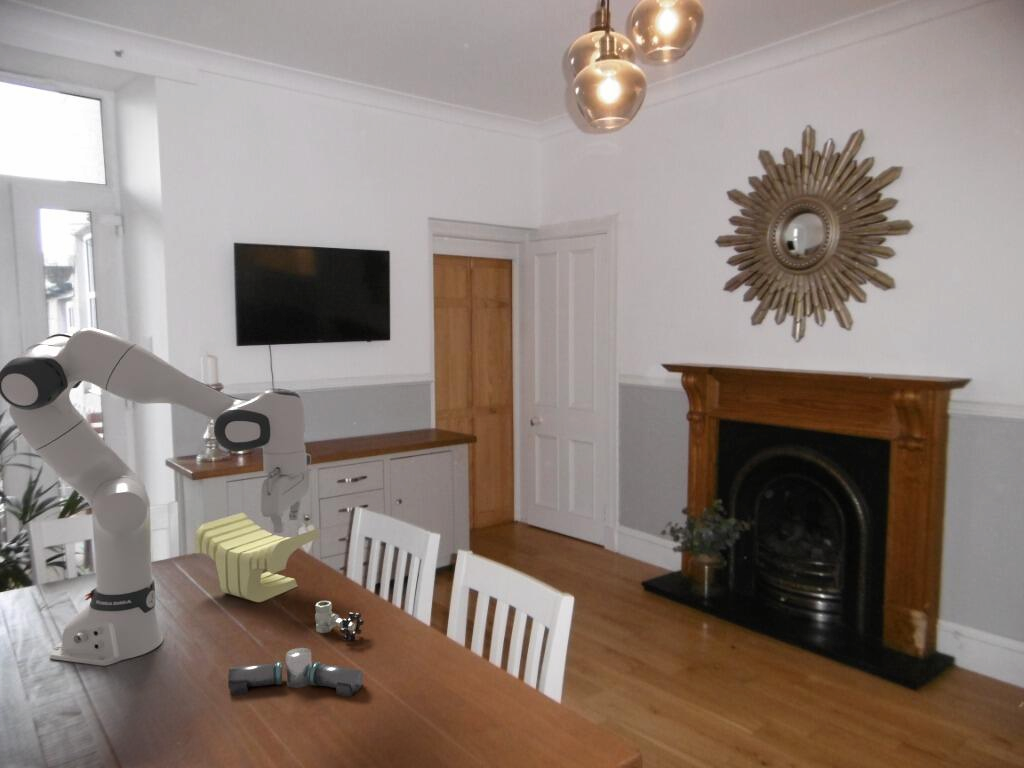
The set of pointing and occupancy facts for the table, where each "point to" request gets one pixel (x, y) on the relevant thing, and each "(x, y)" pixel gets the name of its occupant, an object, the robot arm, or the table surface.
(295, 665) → the coupler
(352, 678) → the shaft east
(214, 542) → the slatted curved stool
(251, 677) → the grey pipe fitting
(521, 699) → the table surface
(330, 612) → the valve
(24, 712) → the table surface
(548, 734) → the table surface
